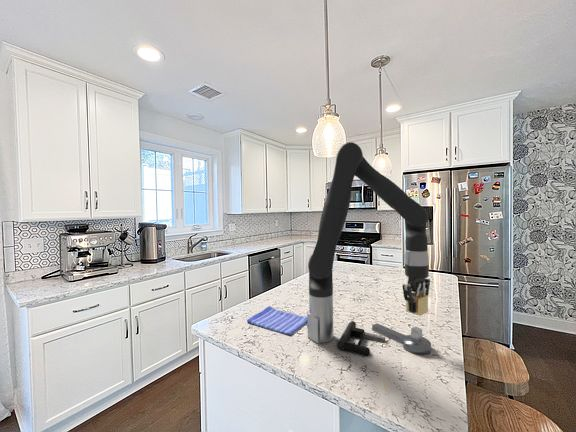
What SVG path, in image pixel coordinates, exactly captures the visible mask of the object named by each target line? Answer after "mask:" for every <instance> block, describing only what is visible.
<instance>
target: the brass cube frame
mask: <svg viewBox="0 0 576 432" xmlns="http://www.w3.org/2000/svg"><path fill="white" fill-rule="evenodd" d="M412 293H415V292H412ZM407 297H408V295H407ZM412 297H414V296H413V295H412ZM428 297H429V294H428V295H423V294H420V293H419V295H418V296H417V297H416V313H412V312H410V311H409V301H406V300H405V302H406V303H405V304H406V305H405V306H406V309H405V310H406V312H408V313H411V314H413V315H416V316H418V317H421V316H423V315H425V314H427V313H428V312H429V311H428V310H429V308H428V307H429V301H428V300H429V299H428Z"/></svg>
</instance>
